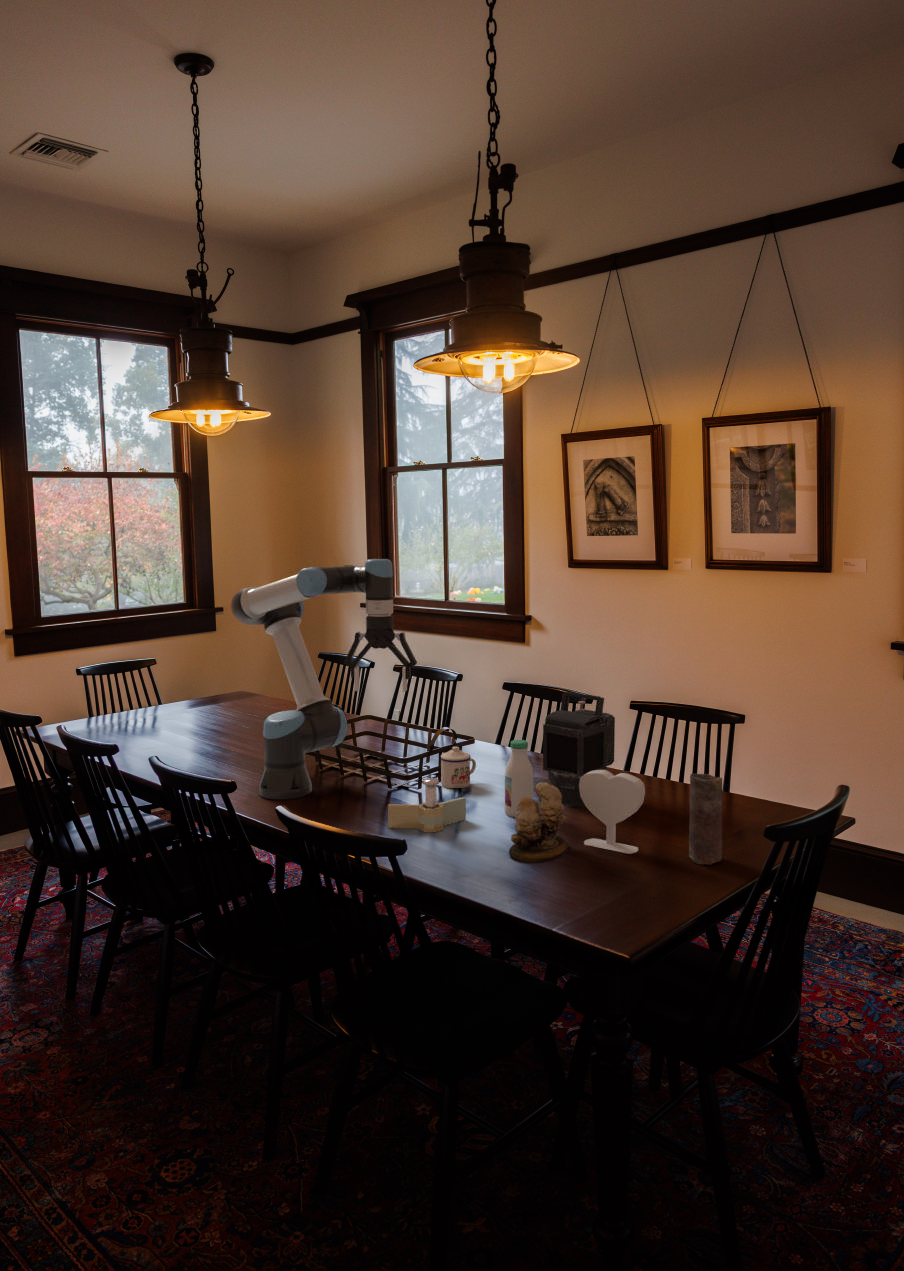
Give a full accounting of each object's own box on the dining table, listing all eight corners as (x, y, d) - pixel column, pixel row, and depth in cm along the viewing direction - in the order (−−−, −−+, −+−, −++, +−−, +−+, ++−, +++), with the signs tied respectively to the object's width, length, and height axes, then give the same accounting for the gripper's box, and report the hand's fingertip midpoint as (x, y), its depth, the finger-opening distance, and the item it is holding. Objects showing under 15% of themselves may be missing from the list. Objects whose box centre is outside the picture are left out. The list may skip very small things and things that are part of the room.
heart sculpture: (645, 848, 207) (646, 775, 205) (637, 855, 203) (638, 780, 201) (585, 836, 216) (586, 766, 213) (576, 842, 211) (577, 771, 209)
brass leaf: (386, 831, 221) (386, 808, 220) (390, 823, 227) (390, 800, 226) (441, 833, 219) (441, 810, 218) (444, 824, 225) (444, 802, 224)
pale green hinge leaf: (428, 834, 218) (428, 811, 217) (414, 827, 223) (414, 805, 222) (472, 822, 227) (472, 800, 226) (457, 816, 232) (457, 794, 231)
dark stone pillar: (683, 854, 203) (685, 771, 201) (714, 853, 204) (716, 770, 202) (695, 866, 196) (697, 780, 193) (726, 865, 196) (729, 779, 194)
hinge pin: (422, 830, 221) (421, 782, 219) (424, 825, 225) (424, 777, 223) (438, 831, 220) (437, 782, 219) (440, 826, 224) (439, 778, 223)
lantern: (537, 800, 245) (537, 696, 242) (573, 786, 258) (574, 687, 255) (581, 811, 235) (582, 702, 231) (617, 796, 248) (618, 693, 244)
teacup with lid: (452, 791, 254) (452, 752, 253) (434, 784, 262) (434, 746, 260) (484, 784, 261) (484, 746, 260) (466, 777, 269) (466, 740, 267)
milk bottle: (536, 810, 236) (536, 738, 234) (529, 819, 229) (529, 745, 226) (509, 808, 239) (509, 737, 236) (501, 816, 231) (501, 743, 229)
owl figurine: (540, 835, 217) (542, 769, 215) (581, 847, 209) (582, 778, 207) (496, 855, 203) (497, 785, 201) (538, 868, 196) (539, 795, 194)
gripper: (332, 616, 238) (334, 692, 240) (422, 616, 235) (423, 693, 237) (338, 613, 245) (340, 687, 247) (426, 613, 242) (426, 688, 245)
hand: (380, 690), depth 242 cm, fingers open, 13 cm apart
